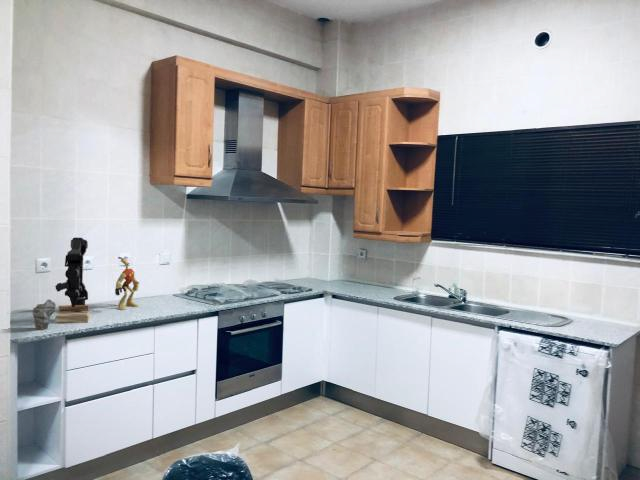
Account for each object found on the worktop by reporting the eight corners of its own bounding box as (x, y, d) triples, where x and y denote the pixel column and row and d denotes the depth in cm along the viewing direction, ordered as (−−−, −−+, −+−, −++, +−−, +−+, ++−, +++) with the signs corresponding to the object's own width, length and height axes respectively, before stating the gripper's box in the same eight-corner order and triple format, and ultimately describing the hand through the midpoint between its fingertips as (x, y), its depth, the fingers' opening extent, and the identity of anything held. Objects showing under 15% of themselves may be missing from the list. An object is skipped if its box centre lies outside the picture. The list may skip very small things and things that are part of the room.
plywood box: (58, 319, 278) (58, 311, 278) (89, 318, 283) (89, 310, 283) (55, 323, 269) (55, 315, 268) (87, 322, 274) (87, 314, 273)
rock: (31, 327, 259) (31, 296, 258) (43, 325, 264) (43, 295, 263) (43, 331, 252) (43, 300, 251) (55, 329, 256) (55, 299, 255)
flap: (59, 311, 278) (59, 310, 278) (88, 310, 282) (88, 310, 283) (58, 306, 275) (58, 305, 276) (88, 305, 280) (88, 305, 280)
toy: (120, 312, 299) (121, 259, 297) (107, 311, 301) (107, 258, 299) (142, 305, 322) (143, 255, 320) (129, 304, 324) (130, 255, 321)
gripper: (59, 275, 283) (58, 304, 284) (53, 279, 265) (53, 310, 266) (82, 274, 286) (81, 303, 287) (78, 279, 269) (77, 310, 269)
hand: (73, 306), depth 277 cm, fingers closed
